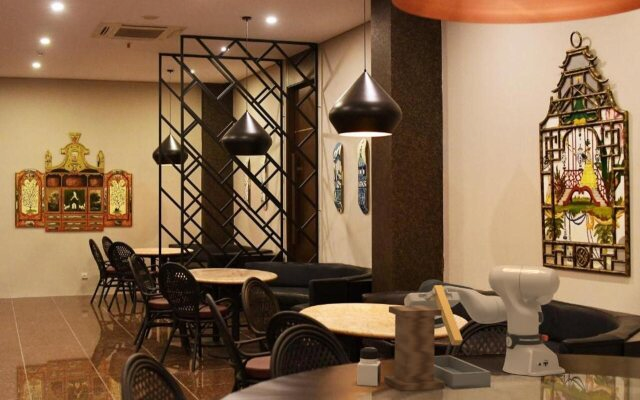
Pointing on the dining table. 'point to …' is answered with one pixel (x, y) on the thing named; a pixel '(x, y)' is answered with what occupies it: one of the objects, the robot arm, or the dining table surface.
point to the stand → (414, 348)
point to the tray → (460, 373)
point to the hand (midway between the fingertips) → (440, 291)
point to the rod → (447, 316)
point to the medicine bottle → (369, 368)
